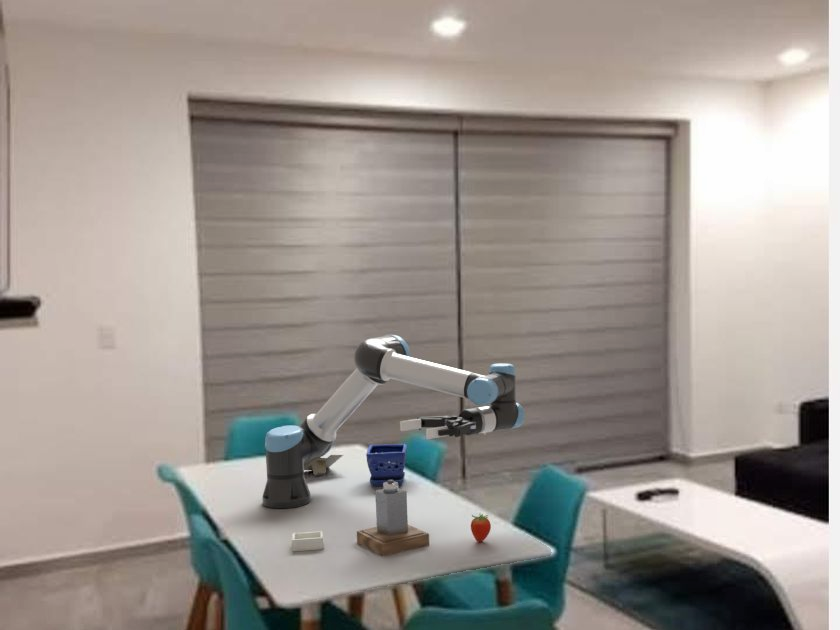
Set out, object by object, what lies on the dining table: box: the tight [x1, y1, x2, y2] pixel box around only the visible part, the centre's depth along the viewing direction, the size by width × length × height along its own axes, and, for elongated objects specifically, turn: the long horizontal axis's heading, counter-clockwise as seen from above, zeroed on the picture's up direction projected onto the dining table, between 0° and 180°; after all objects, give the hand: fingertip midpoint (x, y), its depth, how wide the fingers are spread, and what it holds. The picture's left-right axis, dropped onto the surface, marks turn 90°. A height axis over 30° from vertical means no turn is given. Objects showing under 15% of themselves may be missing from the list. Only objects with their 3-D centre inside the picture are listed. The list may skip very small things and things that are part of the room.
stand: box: [356, 524, 430, 557], centre depth 234 cm, size 14×14×3 cm
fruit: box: [470, 513, 492, 543], centre depth 233 cm, size 5×5×8 cm
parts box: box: [291, 530, 324, 552], centre depth 234 cm, size 8×6×3 cm
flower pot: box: [365, 443, 408, 487], centre depth 299 cm, size 13×13×12 cm
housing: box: [374, 480, 409, 537], centre depth 234 cm, size 6×6×14 cm
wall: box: [304, 454, 344, 477], centre depth 314 cm, size 16×9×15 cm
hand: (413, 430), depth 243 cm, fingers open, 13 cm apart
